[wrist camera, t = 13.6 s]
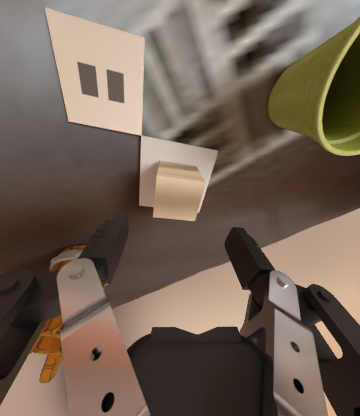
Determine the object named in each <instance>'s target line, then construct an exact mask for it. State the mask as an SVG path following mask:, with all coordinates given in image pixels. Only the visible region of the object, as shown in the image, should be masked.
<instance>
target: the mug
mask: <svg viewBox="0 0 360 416" xmlns="http://www.w3.org/2000/svg"><path fill="white" fill-rule="evenodd" d="M85 247H86V245H74V246H70V247H68V248H66V249H65V250H64V251H63V252H62V253H61V254H59V255H58V256H57V257H54V258H53V259H52V260H51V265H50V268H49V270H50V271H49V272H52V271H56V270H60V269H61V268H62V267H64V266H65V265H66V264H67V263H69V262H71V261H73V260H76V259H77V258H78V257H79V255H80V254H81V252H82V251H83V249H84V248H85ZM106 285H107V284H104V287H103V290H104V289H105V287H106ZM62 325H63V322H62V315H61V316H58V317H55V318H52V319H49V320H48V321H47V322H46V324H45V326H44V328H43V330H42V331H41V333H40V335H39V337H38V339H37V340H36V342H35V344H34V346H33V348H32V349H31V351H30V353H32V352H34V353H41V354H48V356H47V358H46V362H45V364H44V366H43V369H42V373H41V375H40V382H41V383H48V382H50V381H51V380H52V379H53V378H54V376H55V374H56V372H57V369H58V367H59V364H60V362H61V360H62V357H63V355H62V347H61V338H60V330H61V327H62ZM30 353H29V354H30Z"/></svg>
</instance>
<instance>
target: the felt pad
mask: <svg viewBox="0 0 360 416" xmlns="http://www.w3.org/2000/svg"><path fill="white" fill-rule="evenodd" d="M217 154H218V150H213V149H208V148H203V147H198V146H193V145H188V144H183V143H178V142H173V141H168V140H162V139H157V138H152V137H147V136H141V159H140V193H139V205H140V206H148V207H154V200H155V189H156V177H157V172H158V168H159V163H160V161H166V162H173V163H179V164H185V165H191V166H196V167H197V168H198V170H199V172H200V173H201V175H202V177H203V178H204V180H205V182H206V185H205V188H204V192H203V195H202V198H201V202H200V205H199V209H198V212H199V211H200V208H201V205H202V202H203V199H204V196H205V192H206V189H207V186H208V183H209V180H210V176H211V173H212V170H213V167H214V164H215V160H216V157H217Z"/></svg>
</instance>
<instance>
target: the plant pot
mask: <svg viewBox="0 0 360 416" xmlns="http://www.w3.org/2000/svg"><path fill="white" fill-rule="evenodd" d="M268 114H269V117H270V119H271V121H272V122H273V123H274V124H275V125H277V126H278V127H281V128H284V129H287V130H291V131H294V132H297V133H300V134H303V135H306V136H309V137H312V138H313V139H314V140H315V141H317V142H319V143H320V145H321V146H322V147H323V148H324V149H325V150H327V151H329V152H331V153H333V154H336V155H342V156H350V155H357V154H360V17H359V18H358V19H357V20H356V21H355V22H354V23H353V24H351V25H350V26H348V27H347V28H345V29H344V30H342V31H341V32H339V33H338V34H336V35H335V36H333V37H332V38H330V39H329V40H327V41H326V42H325V43H323V44H322V45H320V46H319V47H317V48H316V49H314V50H313V51H311V52H310V53H308V54H307V55H305V56H304V57H302V58H301V59H299V60H298V61H296V62H295V63H293V64H292V65H290V66H289V67H288V68H287V69H286V70H285V71H284V72H283V74H282V75H281V76H280V78H279V79H278V81H277V82H276V84H275V85H274V87H273V89H272V91H271V94H270V97H269V101H268Z"/></svg>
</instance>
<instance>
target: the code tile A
mask: <svg viewBox="0 0 360 416" xmlns="http://www.w3.org/2000/svg"><path fill="white" fill-rule="evenodd" d="M45 12H46V16H47V21H48V26H49V31H50V35H51V40H52V45H53V50H54V54H55V59H56V64H57V69H58V73H59V78H60V83H61V88H62V92H63V97H64V102H65V107H66V111H67V116H68V121H69V122H74V123H79V124H85V125H90V126H95V127H100V128H105V129H110V130H115V131H120V132H125V133H130V134H136V135H141V136H142V112H143V80H144V48H145V39H144V38H143V37H140V36H137V35H133V34H130V33H127V32H124V31H120V30H117V29H114V28H111V27H107V26H104V25H101V24H98V23H94V22H91V21H88V20H84V19H81V18H78V17H75V16H71V15H68V14H65V13H62V12H58V11H55V10H52V9H49V8H45Z"/></svg>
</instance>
